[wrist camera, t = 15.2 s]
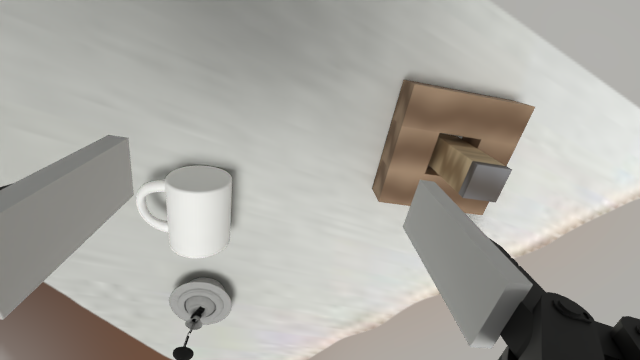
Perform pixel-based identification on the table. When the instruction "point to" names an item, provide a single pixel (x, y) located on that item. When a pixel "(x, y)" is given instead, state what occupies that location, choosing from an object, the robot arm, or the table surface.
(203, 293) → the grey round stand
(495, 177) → the square bit
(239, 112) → the table surface
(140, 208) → the mug
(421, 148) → the bore block
